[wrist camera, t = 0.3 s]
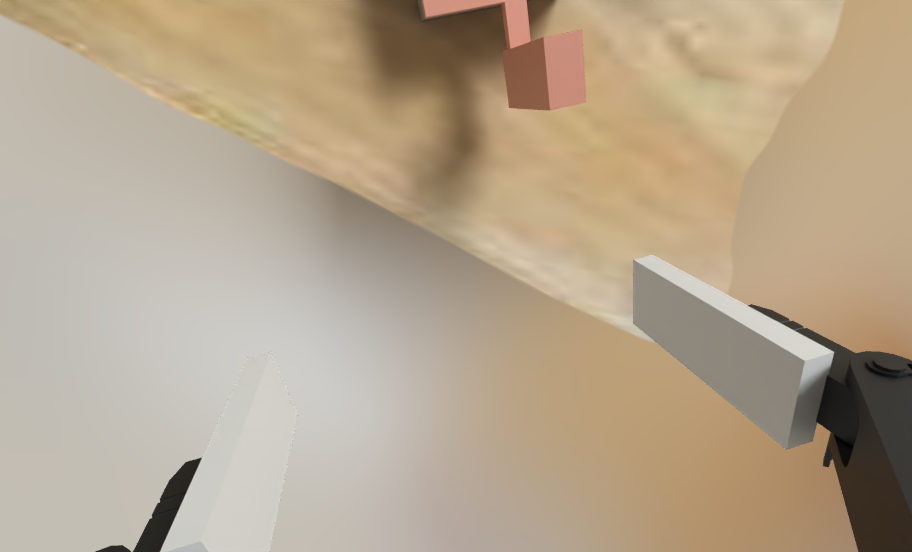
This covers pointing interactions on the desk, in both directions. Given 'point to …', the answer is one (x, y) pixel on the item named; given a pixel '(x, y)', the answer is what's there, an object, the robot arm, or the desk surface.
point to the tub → (448, 14)
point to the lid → (530, 57)
